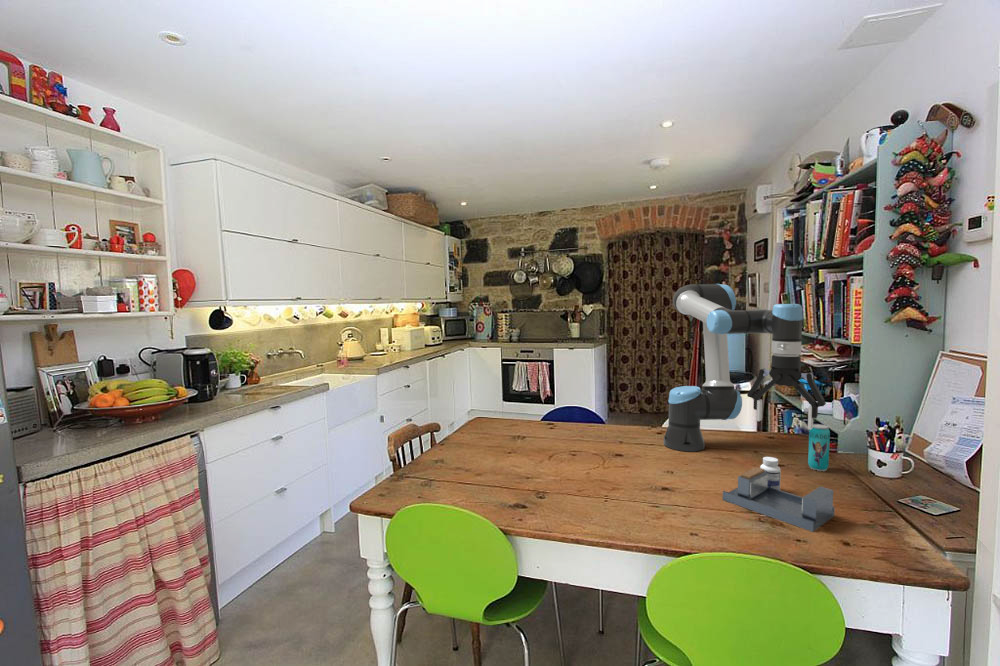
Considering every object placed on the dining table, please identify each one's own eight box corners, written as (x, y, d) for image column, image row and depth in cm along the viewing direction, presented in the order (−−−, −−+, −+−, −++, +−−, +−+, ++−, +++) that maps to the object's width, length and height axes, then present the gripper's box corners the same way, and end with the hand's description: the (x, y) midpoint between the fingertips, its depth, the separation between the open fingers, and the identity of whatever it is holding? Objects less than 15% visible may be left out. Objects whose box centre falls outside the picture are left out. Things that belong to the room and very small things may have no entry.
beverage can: (809, 470, 154) (810, 427, 153) (806, 465, 160) (808, 422, 158) (829, 473, 152) (831, 429, 151) (826, 467, 157) (828, 424, 156)
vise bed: (722, 500, 133) (723, 474, 132) (746, 488, 141) (747, 464, 140) (812, 531, 114) (814, 502, 114) (834, 515, 122) (835, 488, 122)
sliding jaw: (737, 497, 131) (738, 474, 130) (756, 487, 137) (756, 466, 137) (749, 501, 128) (750, 478, 127) (768, 491, 134) (768, 469, 134)
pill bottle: (761, 485, 143) (762, 454, 142) (781, 489, 140) (782, 458, 139) (757, 490, 139) (758, 459, 138) (778, 495, 135) (779, 463, 135)
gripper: (737, 353, 144) (735, 419, 145) (834, 359, 126) (831, 435, 128) (745, 351, 149) (743, 415, 151) (839, 357, 132) (836, 429, 133)
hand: (783, 424), depth 139 cm, fingers open, 13 cm apart
